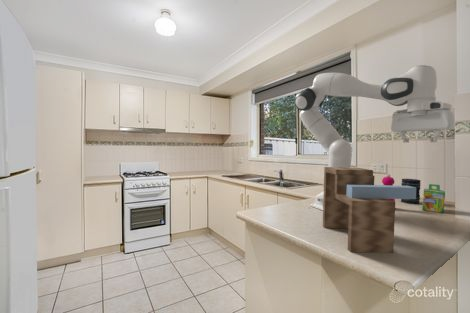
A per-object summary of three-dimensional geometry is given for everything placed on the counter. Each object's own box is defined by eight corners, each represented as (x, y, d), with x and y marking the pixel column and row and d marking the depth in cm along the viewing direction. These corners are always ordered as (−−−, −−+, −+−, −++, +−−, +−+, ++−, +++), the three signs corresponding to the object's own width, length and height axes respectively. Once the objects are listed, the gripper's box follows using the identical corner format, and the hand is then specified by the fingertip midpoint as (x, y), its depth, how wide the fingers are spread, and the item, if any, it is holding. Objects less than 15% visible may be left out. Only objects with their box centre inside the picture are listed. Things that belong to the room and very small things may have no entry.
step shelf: (354, 226, 101) (356, 167, 100) (393, 252, 76) (396, 174, 75) (322, 226, 101) (324, 167, 100) (350, 251, 76) (353, 173, 75)
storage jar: (405, 203, 146) (406, 180, 146) (397, 200, 156) (398, 178, 155) (423, 204, 144) (424, 181, 144) (413, 201, 154) (415, 178, 154)
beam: (407, 196, 84) (407, 185, 84) (415, 199, 80) (416, 187, 80) (346, 195, 84) (346, 184, 84) (351, 197, 80) (352, 186, 80)
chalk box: (422, 210, 131) (423, 184, 130) (422, 207, 138) (424, 182, 137) (444, 213, 125) (445, 186, 124) (443, 210, 132) (445, 184, 131)
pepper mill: (389, 210, 129) (391, 175, 128) (377, 207, 136) (378, 173, 135) (397, 209, 133) (398, 174, 132) (384, 206, 139) (385, 173, 138)
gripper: (388, 110, 100) (387, 142, 100) (449, 102, 82) (447, 141, 82) (396, 111, 103) (395, 142, 103) (457, 104, 85) (455, 142, 85)
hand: (419, 142), depth 93 cm, fingers open, 8 cm apart
